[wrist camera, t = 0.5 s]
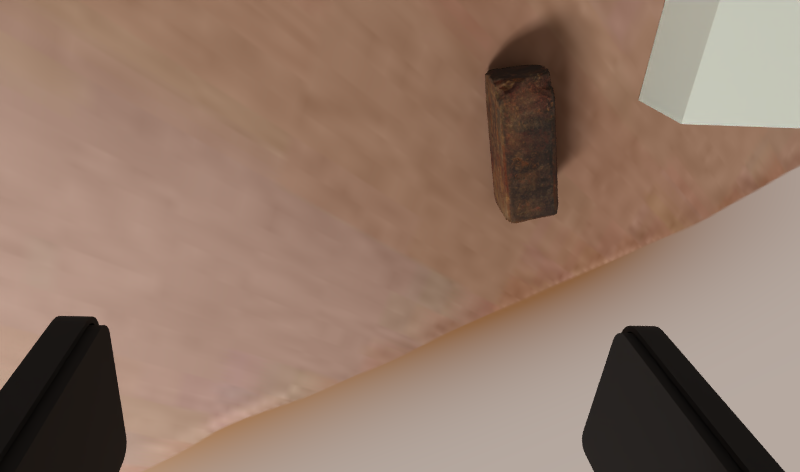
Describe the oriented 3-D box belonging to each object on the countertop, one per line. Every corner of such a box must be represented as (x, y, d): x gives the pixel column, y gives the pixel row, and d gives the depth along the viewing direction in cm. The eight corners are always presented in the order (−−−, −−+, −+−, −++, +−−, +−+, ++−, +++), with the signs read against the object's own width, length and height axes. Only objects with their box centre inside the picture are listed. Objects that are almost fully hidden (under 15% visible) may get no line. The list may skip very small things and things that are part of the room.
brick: (540, 190, 46) (561, 216, 42) (492, 200, 46) (509, 226, 42) (534, 59, 41) (557, 73, 37) (481, 69, 41) (498, 84, 37)
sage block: (696, -114, 37) (757, -121, 31) (885, -96, 39) (973, -100, 33) (638, 100, 43) (681, 124, 38) (802, 106, 45) (865, 130, 40)
